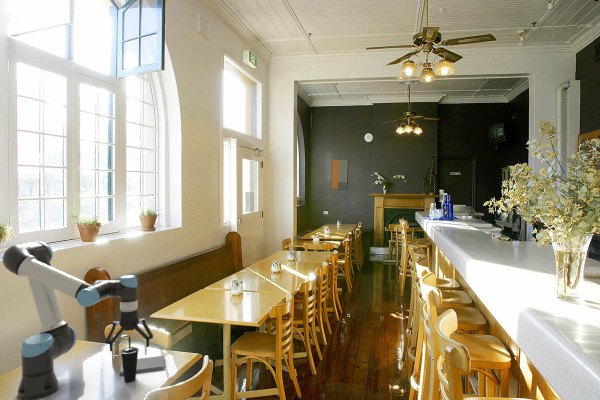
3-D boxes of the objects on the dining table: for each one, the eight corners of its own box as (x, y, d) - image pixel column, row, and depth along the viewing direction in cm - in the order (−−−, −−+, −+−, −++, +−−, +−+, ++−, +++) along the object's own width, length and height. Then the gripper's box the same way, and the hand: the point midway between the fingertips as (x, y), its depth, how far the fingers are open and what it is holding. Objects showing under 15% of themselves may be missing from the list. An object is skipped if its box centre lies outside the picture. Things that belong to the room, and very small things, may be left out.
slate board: (119, 375, 201) (119, 372, 201) (121, 363, 214) (121, 360, 214) (164, 369, 207) (164, 366, 207) (163, 358, 220) (163, 355, 220)
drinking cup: (135, 383, 192) (134, 339, 191) (118, 383, 192) (117, 339, 191) (141, 376, 199) (141, 333, 199) (125, 376, 199) (124, 333, 199)
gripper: (97, 314, 187) (99, 362, 188) (157, 309, 195) (158, 355, 196) (100, 310, 194) (101, 356, 195) (157, 305, 202) (158, 349, 203)
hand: (130, 355), depth 195 cm, fingers open, 13 cm apart
